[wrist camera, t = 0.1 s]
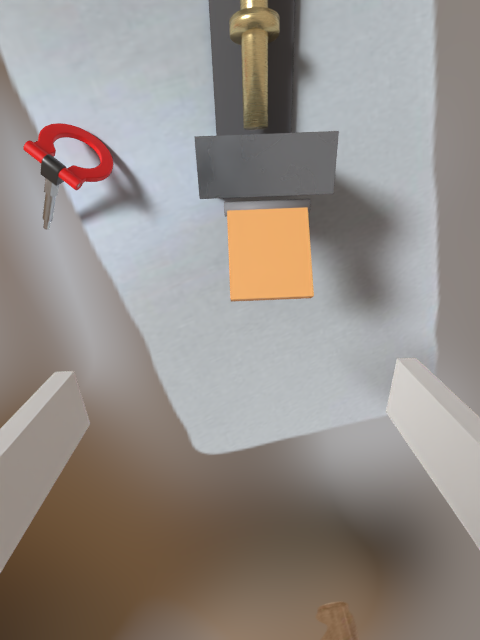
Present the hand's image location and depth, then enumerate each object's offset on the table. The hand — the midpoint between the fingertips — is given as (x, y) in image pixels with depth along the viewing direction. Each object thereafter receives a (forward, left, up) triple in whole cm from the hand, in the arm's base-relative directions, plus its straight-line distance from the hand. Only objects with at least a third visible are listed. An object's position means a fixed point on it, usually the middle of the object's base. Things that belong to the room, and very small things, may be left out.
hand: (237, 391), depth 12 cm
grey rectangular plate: (-9, +3, -28) cm, 29 cm away
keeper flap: (-6, +3, -14) cm, 15 cm away
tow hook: (-10, -17, -30) cm, 36 cm away
